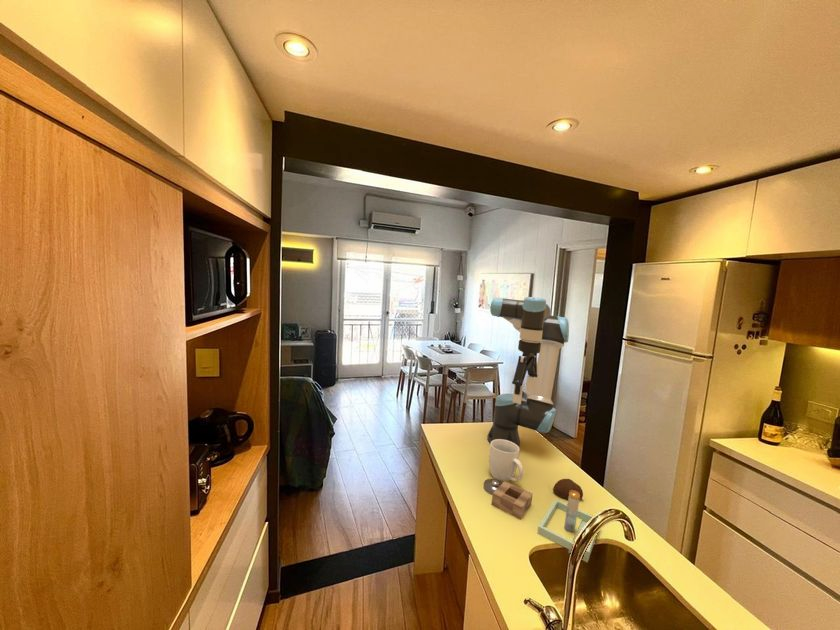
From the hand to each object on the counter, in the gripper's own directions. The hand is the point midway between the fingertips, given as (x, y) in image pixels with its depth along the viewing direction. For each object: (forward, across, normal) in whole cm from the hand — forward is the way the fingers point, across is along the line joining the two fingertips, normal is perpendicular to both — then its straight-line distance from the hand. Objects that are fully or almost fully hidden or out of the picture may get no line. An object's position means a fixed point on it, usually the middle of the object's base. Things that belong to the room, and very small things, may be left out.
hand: (523, 398), depth 122 cm
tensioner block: (+34, +13, +4) cm, 36 cm away
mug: (+34, -2, -4) cm, 35 cm away
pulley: (+34, +8, -4) cm, 35 cm away
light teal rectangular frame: (+34, +12, +22) cm, 42 cm away
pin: (+33, +11, +22) cm, 42 cm away
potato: (+35, -7, +18) cm, 40 cm away
